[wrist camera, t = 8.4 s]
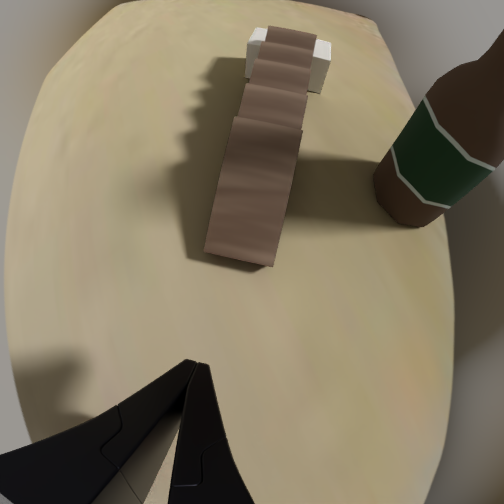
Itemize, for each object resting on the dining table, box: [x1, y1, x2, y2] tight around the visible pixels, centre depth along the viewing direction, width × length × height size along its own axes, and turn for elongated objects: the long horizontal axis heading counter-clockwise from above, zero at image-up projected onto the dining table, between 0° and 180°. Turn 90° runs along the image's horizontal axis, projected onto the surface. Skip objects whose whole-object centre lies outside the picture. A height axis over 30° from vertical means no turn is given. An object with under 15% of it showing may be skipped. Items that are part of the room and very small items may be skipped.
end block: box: [245, 28, 331, 93], centre depth 28 cm, size 5×9×5 cm, turn 78°
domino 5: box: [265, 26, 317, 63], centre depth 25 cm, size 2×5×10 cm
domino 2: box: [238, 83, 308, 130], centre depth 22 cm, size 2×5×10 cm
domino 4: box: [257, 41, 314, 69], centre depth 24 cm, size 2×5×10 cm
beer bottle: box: [373, 29, 504, 227], centre depth 14 cm, size 8×8×24 cm
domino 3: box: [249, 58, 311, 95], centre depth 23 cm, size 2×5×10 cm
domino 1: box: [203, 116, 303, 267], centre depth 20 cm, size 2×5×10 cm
